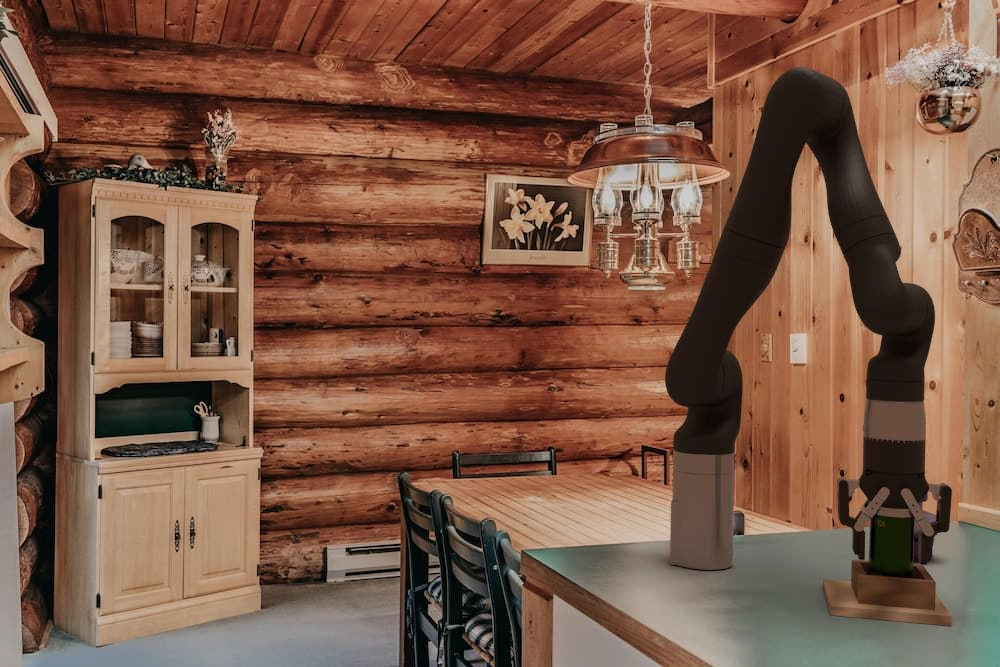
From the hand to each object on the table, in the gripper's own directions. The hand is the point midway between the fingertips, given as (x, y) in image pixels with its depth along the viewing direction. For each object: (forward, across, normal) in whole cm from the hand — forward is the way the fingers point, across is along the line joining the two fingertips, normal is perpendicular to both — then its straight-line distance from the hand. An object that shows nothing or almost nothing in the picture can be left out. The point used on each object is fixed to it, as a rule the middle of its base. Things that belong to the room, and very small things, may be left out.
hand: (891, 560), depth 122 cm
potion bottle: (+6, +7, +29) cm, 30 cm away
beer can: (+5, 0, 0) cm, 5 cm away
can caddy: (+6, 0, 0) cm, 6 cm away
